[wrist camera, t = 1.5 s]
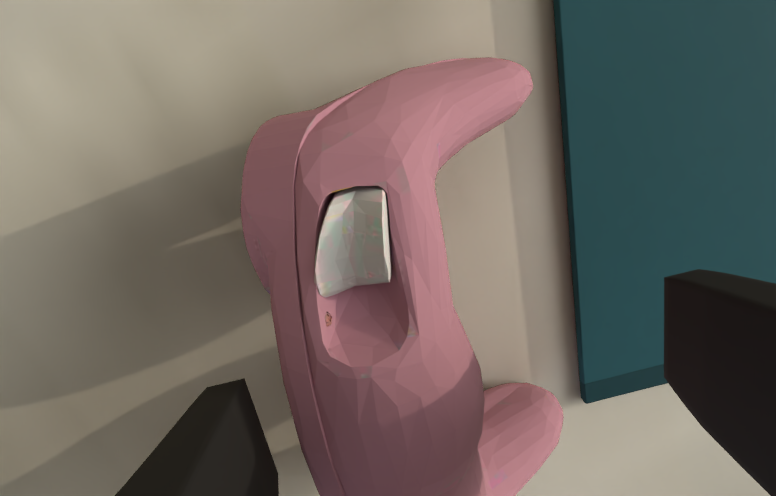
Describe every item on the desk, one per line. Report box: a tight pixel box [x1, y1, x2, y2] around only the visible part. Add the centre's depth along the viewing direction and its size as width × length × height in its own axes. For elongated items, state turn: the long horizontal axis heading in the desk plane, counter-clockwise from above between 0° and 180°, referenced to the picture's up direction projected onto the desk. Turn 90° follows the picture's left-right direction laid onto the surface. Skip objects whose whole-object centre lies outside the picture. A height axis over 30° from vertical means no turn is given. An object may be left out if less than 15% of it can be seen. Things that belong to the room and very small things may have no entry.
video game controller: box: [240, 58, 563, 496], centre depth 11 cm, size 10×5×7 cm, turn 11°
